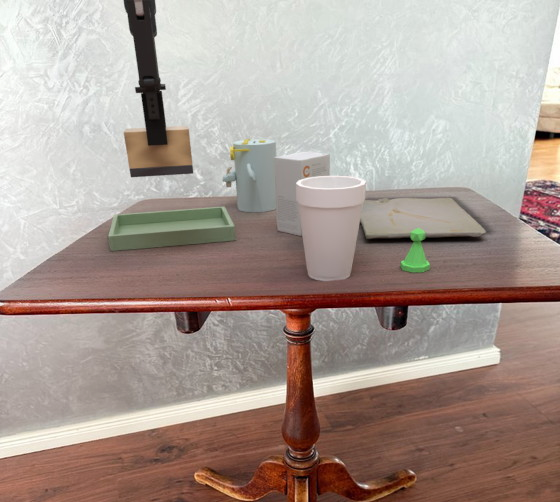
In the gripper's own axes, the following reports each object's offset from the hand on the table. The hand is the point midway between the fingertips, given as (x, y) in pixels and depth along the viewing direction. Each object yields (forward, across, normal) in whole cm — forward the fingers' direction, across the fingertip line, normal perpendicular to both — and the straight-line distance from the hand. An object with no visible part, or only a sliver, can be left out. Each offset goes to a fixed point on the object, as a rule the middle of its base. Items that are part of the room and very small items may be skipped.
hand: (158, 141), depth 79 cm
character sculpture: (+18, +32, -17) cm, 41 cm away
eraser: (+4, 0, 0) cm, 4 cm away
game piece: (+18, -13, -36) cm, 42 cm away
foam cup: (+18, -13, -23) cm, 32 cm away
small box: (+18, +12, -24) cm, 32 cm away
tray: (+18, +16, 0) cm, 24 cm away
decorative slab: (+18, +11, -45) cm, 50 cm away
